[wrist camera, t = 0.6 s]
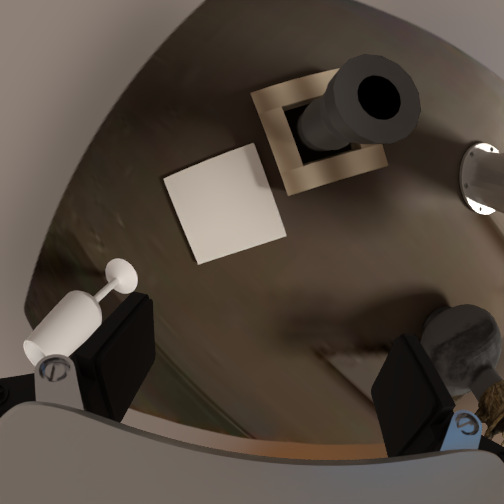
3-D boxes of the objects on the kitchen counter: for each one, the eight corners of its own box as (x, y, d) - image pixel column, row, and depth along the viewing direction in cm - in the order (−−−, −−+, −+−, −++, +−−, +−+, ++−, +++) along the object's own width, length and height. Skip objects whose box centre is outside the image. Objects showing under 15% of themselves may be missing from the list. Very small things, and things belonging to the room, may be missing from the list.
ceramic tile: (254, 143, 38) (253, 142, 38) (286, 234, 42) (286, 236, 41) (165, 178, 41) (163, 178, 40) (199, 262, 45) (198, 264, 44)
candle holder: (286, 125, 37) (306, 81, 14) (320, 101, 36) (381, 35, 12) (313, 160, 39) (372, 168, 15) (346, 135, 37) (440, 117, 13)
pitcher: (469, 326, 46) (543, 422, 17) (392, 364, 49) (443, 488, 21) (468, 283, 43) (566, 378, 14) (384, 323, 46) (453, 462, 18)
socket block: (344, 75, 34) (353, 65, 29) (375, 164, 38) (388, 165, 33) (253, 100, 36) (250, 92, 32) (286, 191, 40) (288, 196, 36)
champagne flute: (144, 276, 46) (64, 364, 24) (127, 300, 48) (53, 387, 26) (115, 250, 45) (21, 322, 23) (100, 276, 47) (15, 350, 25)
